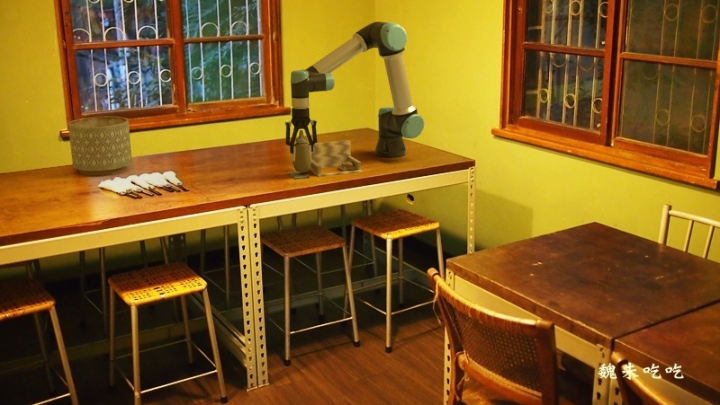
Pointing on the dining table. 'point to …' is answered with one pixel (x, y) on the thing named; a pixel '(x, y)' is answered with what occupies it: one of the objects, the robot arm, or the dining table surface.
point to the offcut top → (347, 164)
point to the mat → (298, 175)
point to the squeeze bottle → (302, 154)
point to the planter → (100, 145)
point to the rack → (332, 157)
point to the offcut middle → (346, 168)
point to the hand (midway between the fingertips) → (302, 160)
